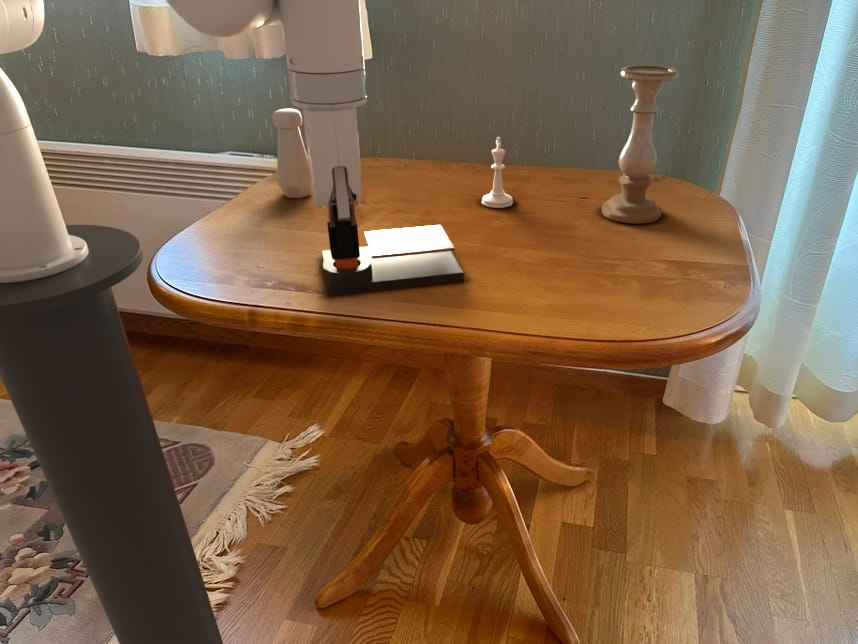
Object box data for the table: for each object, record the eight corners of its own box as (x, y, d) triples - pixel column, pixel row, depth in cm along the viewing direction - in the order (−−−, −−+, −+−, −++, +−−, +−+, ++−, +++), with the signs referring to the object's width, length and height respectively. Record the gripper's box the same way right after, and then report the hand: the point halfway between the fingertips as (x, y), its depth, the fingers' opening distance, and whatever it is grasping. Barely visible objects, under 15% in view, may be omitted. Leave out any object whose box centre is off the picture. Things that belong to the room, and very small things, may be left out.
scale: (327, 299, 77) (324, 275, 76) (320, 259, 87) (317, 237, 85) (465, 284, 81) (465, 260, 79) (444, 247, 90) (443, 225, 89)
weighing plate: (372, 259, 79) (371, 255, 79) (364, 234, 86) (363, 231, 86) (454, 250, 82) (454, 247, 82) (440, 227, 88) (440, 224, 88)
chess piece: (508, 196, 108) (510, 132, 103) (516, 206, 104) (518, 140, 99) (478, 198, 107) (478, 134, 102) (485, 208, 103) (486, 142, 98)
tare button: (337, 275, 77) (335, 261, 77) (335, 266, 80) (333, 252, 79) (360, 273, 78) (358, 259, 77) (357, 264, 80) (356, 250, 79)
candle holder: (642, 229, 96) (663, 77, 86) (590, 215, 101) (604, 69, 90) (671, 213, 102) (694, 68, 91) (620, 200, 107) (637, 61, 96)
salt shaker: (272, 197, 107) (258, 112, 100) (290, 187, 112) (278, 104, 105) (305, 201, 106) (294, 115, 99) (322, 190, 111) (312, 107, 104)
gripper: (287, 76, 73) (308, 235, 83) (292, 104, 61) (316, 287, 71) (357, 73, 75) (369, 230, 85) (375, 100, 63) (387, 279, 73)
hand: (345, 255), depth 78 cm, fingers closed
